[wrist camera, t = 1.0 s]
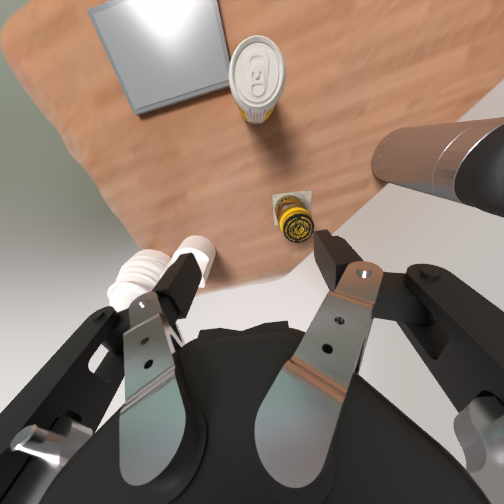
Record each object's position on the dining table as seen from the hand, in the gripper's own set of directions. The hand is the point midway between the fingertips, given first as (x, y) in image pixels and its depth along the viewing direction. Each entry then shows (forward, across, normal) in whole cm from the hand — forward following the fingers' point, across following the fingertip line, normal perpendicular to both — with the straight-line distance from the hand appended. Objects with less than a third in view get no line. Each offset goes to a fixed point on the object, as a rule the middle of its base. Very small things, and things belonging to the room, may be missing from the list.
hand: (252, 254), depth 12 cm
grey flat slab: (+30, +10, -21) cm, 37 cm away
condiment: (+30, -7, +8) cm, 32 cm away
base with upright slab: (+30, +18, +14) cm, 38 cm away
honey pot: (+29, +32, +18) cm, 47 cm away
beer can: (+30, -2, -12) cm, 32 cm away
